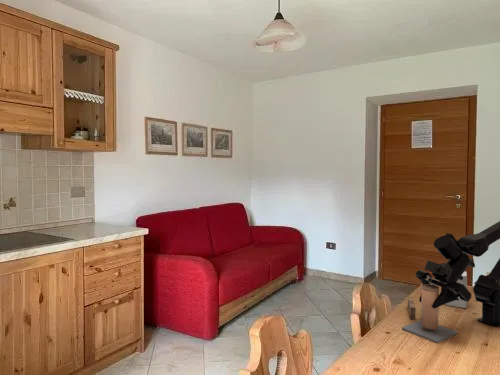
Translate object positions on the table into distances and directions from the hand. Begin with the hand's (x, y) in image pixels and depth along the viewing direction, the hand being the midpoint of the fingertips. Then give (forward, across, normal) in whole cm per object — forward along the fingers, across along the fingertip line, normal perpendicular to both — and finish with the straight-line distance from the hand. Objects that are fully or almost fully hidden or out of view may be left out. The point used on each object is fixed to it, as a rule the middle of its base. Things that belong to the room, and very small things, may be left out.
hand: (426, 304), depth 118 cm
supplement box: (-15, -18, +28) cm, 36 cm away
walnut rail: (+2, -15, +11) cm, 19 cm away
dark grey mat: (+5, 0, +7) cm, 9 cm away
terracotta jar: (+4, 0, +6) cm, 7 cm away
